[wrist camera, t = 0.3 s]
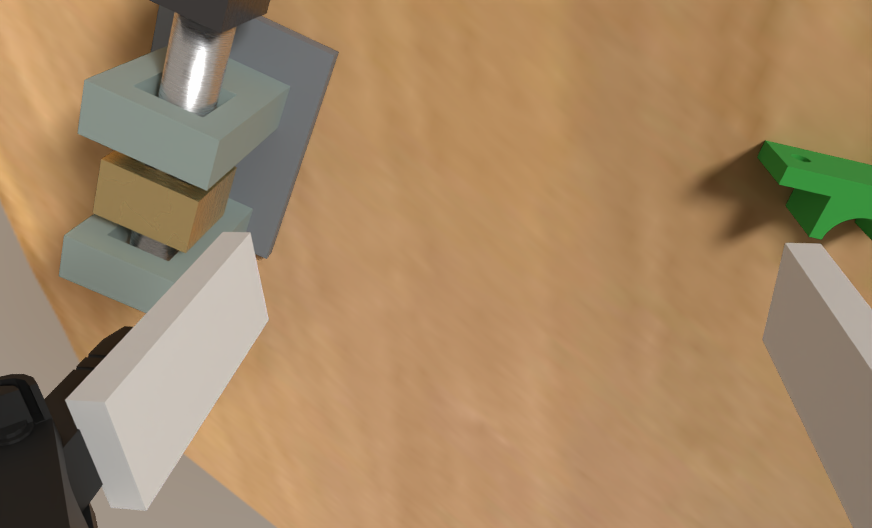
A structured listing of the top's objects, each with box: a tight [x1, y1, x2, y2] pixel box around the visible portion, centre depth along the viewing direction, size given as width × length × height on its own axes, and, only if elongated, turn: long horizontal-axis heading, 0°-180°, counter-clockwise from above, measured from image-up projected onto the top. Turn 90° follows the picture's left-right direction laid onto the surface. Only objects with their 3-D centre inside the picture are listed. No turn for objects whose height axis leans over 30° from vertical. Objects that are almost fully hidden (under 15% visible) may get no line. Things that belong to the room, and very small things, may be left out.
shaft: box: [129, 0, 270, 261], centre depth 37 cm, size 22×4×6 cm, turn 157°
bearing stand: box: [59, 5, 339, 313], centre depth 40 cm, size 16×11×12 cm
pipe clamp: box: [757, 140, 872, 240], centre depth 39 cm, size 11×4×5 cm, turn 79°
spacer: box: [93, 150, 237, 253], centre depth 39 cm, size 4×6×5 cm, turn 67°
